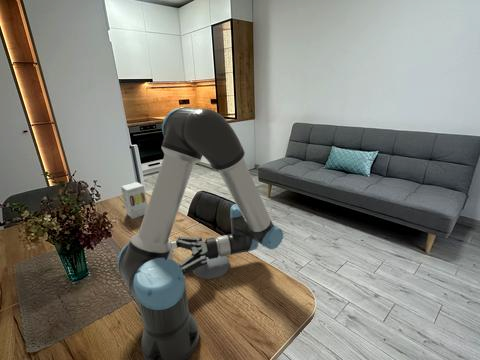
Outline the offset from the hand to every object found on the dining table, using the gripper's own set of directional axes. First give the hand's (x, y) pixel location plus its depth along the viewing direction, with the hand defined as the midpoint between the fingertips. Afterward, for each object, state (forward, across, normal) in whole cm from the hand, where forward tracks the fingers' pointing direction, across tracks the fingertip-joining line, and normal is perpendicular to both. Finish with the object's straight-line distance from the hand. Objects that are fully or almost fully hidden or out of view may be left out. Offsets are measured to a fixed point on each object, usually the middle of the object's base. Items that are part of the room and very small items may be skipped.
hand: (158, 258), depth 91 cm
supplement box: (+14, +58, -8) cm, 60 cm away
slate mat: (-18, 0, -8) cm, 20 cm away
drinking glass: (-2, 0, -8) cm, 9 cm away
